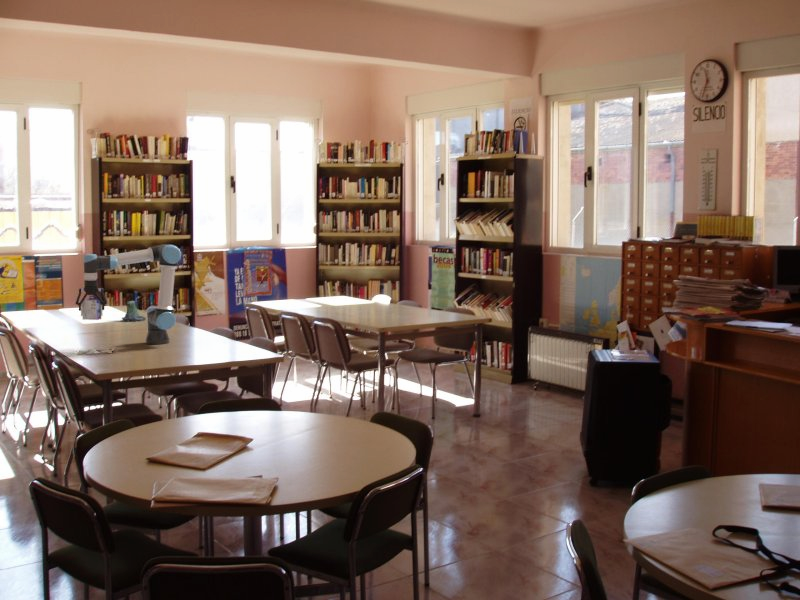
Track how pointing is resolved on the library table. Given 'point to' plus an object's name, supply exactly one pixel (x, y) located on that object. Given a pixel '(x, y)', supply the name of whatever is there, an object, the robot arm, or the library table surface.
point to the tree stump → (132, 313)
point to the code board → (90, 351)
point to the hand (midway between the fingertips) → (91, 315)
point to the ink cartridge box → (91, 309)
